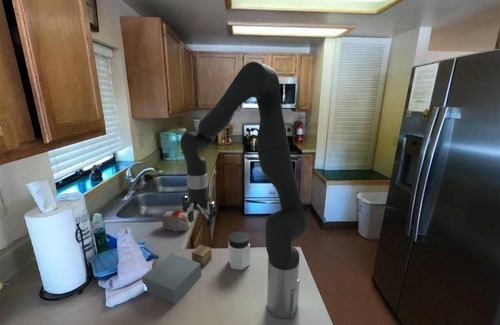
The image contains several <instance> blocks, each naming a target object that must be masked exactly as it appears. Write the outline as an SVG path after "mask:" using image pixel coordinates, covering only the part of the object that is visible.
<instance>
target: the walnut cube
mask: <svg viewBox="0 0 500 325" xmlns="http://www.w3.org/2000/svg"><path fill="white" fill-rule="evenodd" d="M191 260H192V261H195V262H198V263H201V268H205V267H206V266H207V265H208V264H209V263H210V262H211V261H212V248H211V247H209V246H205V245H203V244H199V245H198V246H196V247H195V248H194V249H193V250H192V251H191Z"/></svg>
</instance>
